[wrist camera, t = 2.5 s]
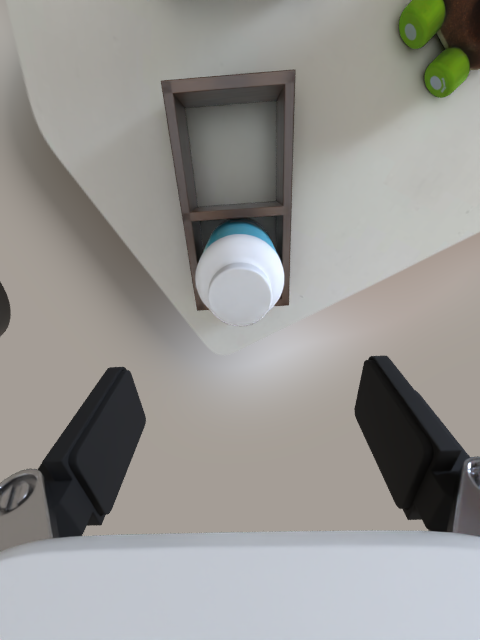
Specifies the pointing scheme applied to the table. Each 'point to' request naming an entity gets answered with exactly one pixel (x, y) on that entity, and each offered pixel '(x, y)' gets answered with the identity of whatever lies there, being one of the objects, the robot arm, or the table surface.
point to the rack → (176, 100)
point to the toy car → (444, 39)
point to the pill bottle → (239, 272)
